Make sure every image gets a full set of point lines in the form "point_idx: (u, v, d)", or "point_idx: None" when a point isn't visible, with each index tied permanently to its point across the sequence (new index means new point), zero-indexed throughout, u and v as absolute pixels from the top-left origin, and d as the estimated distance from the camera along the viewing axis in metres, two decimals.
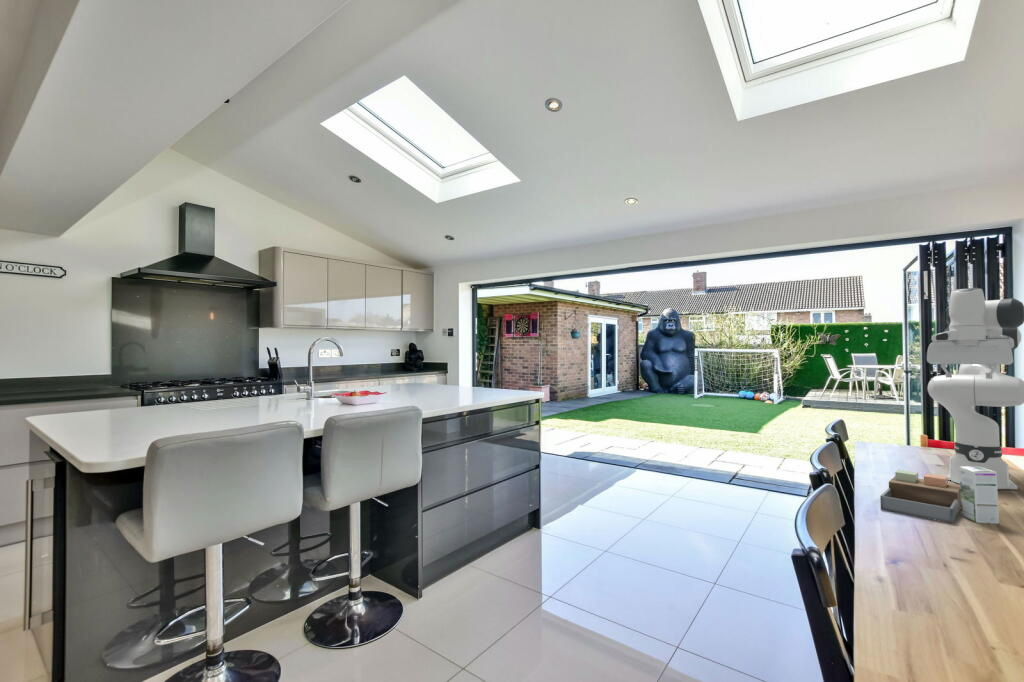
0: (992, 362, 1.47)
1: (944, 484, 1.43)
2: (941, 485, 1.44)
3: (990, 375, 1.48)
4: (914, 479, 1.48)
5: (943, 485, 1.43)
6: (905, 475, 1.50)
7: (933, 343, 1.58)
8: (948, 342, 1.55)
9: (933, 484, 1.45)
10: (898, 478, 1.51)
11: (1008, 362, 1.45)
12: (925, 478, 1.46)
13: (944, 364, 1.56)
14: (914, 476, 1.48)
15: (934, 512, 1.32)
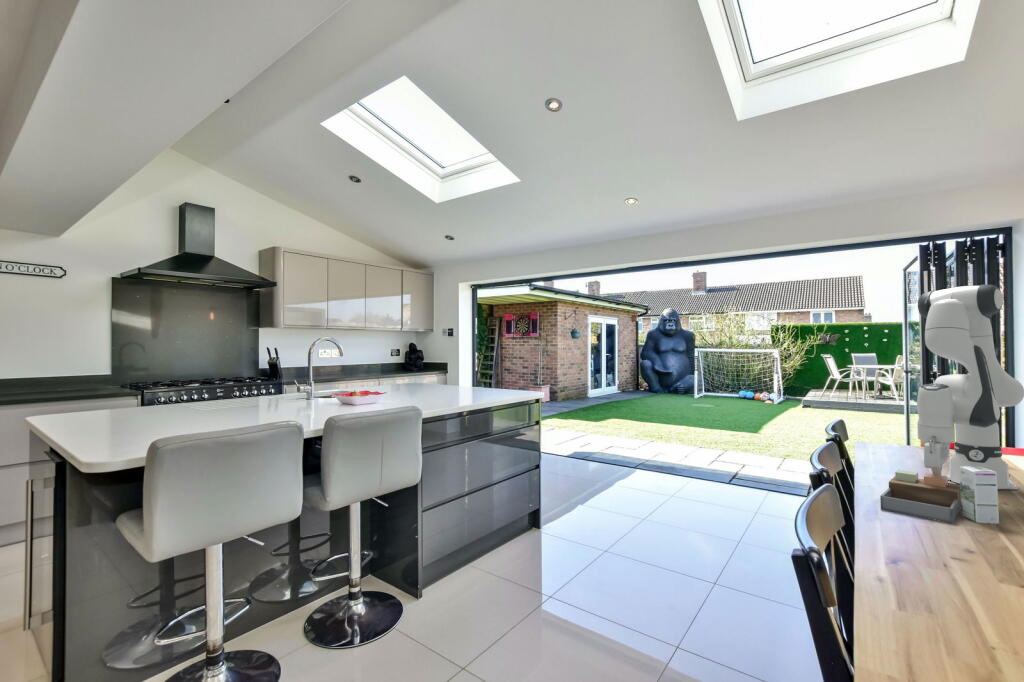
0: None
1: (944, 484, 1.43)
2: (941, 485, 1.44)
3: None
4: (914, 479, 1.48)
5: (943, 485, 1.43)
6: (905, 475, 1.50)
7: None
8: None
9: (933, 484, 1.45)
10: (898, 478, 1.51)
11: None
12: (925, 478, 1.46)
13: None
14: (914, 476, 1.48)
15: (934, 512, 1.32)
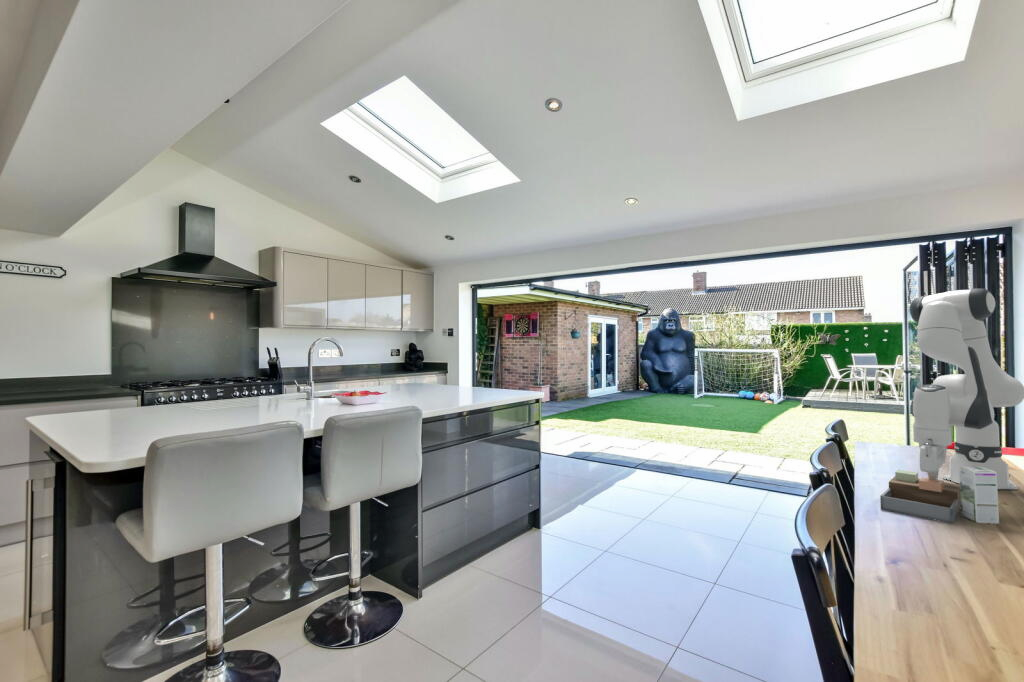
0: None
1: (940, 489, 1.38)
2: (937, 490, 1.39)
3: None
4: (914, 479, 1.48)
5: (939, 490, 1.38)
6: (905, 475, 1.50)
7: None
8: None
9: (928, 488, 1.40)
10: (898, 478, 1.51)
11: (920, 469, 1.40)
12: (920, 482, 1.42)
13: None
14: (914, 476, 1.48)
15: (934, 512, 1.32)
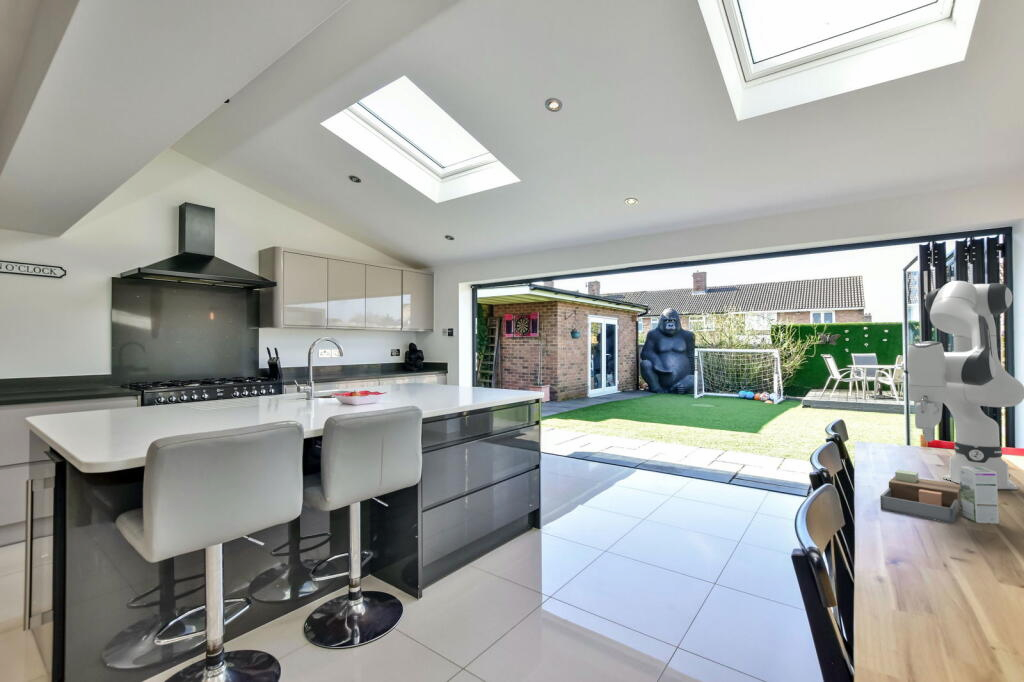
0: None
1: None
2: None
3: None
4: (914, 479, 1.48)
5: None
6: (905, 475, 1.50)
7: None
8: None
9: None
10: (898, 478, 1.51)
11: (916, 426, 1.36)
12: None
13: None
14: (914, 476, 1.48)
15: (934, 512, 1.32)
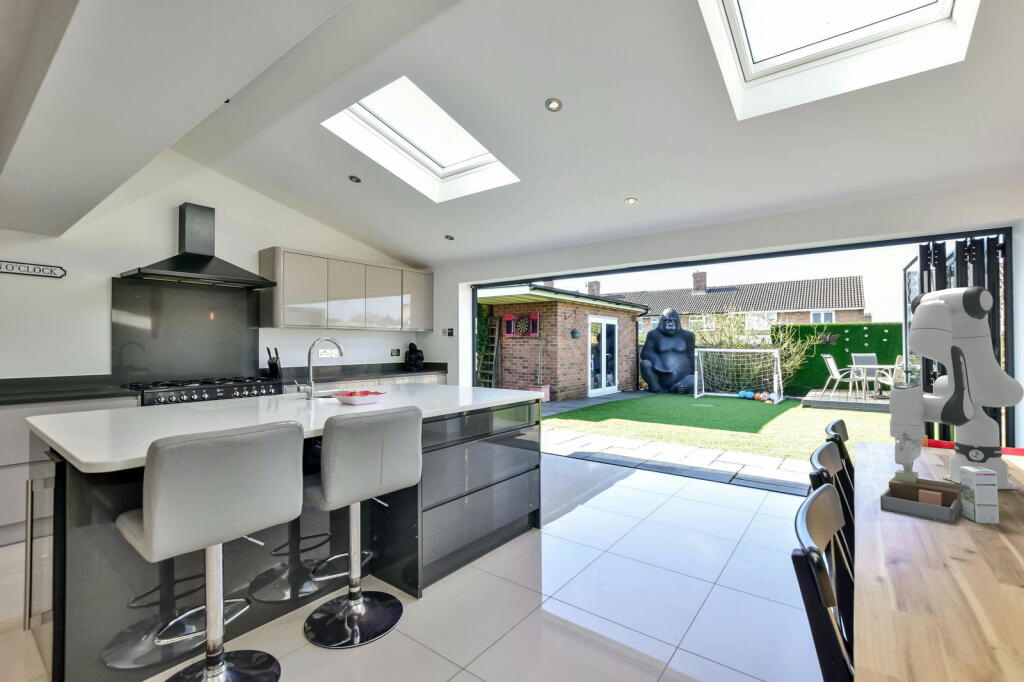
0: None
1: None
2: None
3: None
4: (914, 479, 1.48)
5: None
6: (904, 475, 1.50)
7: None
8: None
9: None
10: (898, 478, 1.51)
11: (895, 462, 1.50)
12: None
13: None
14: (914, 476, 1.48)
15: (934, 512, 1.32)
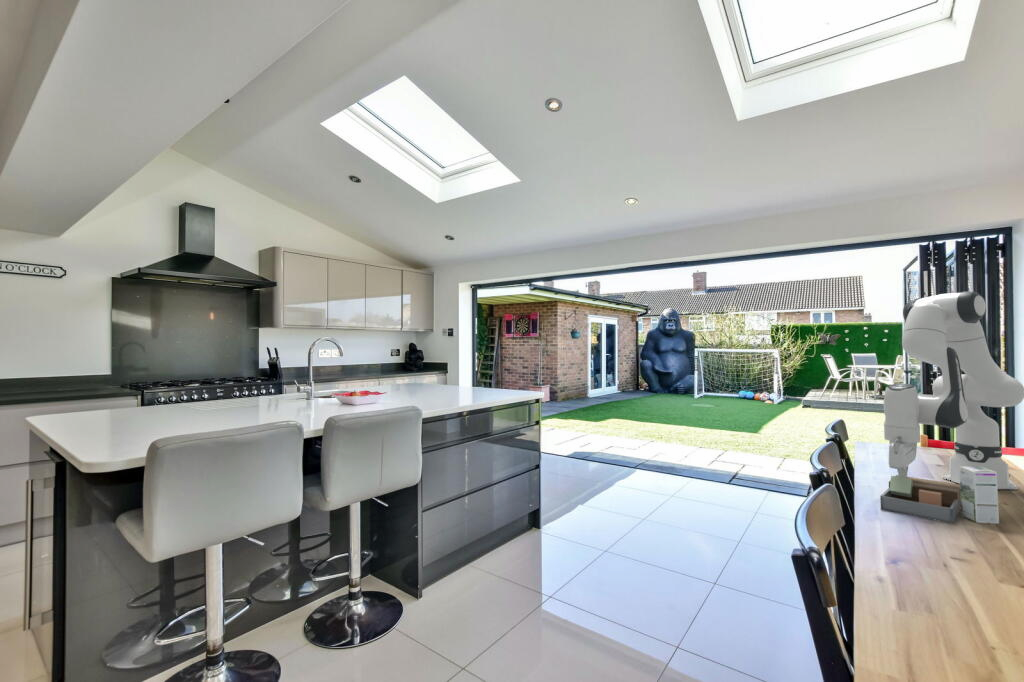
0: None
1: None
2: None
3: None
4: (909, 495, 1.43)
5: None
6: (899, 492, 1.44)
7: None
8: None
9: None
10: (893, 493, 1.46)
11: (889, 466, 1.44)
12: None
13: None
14: (909, 494, 1.43)
15: (934, 512, 1.32)
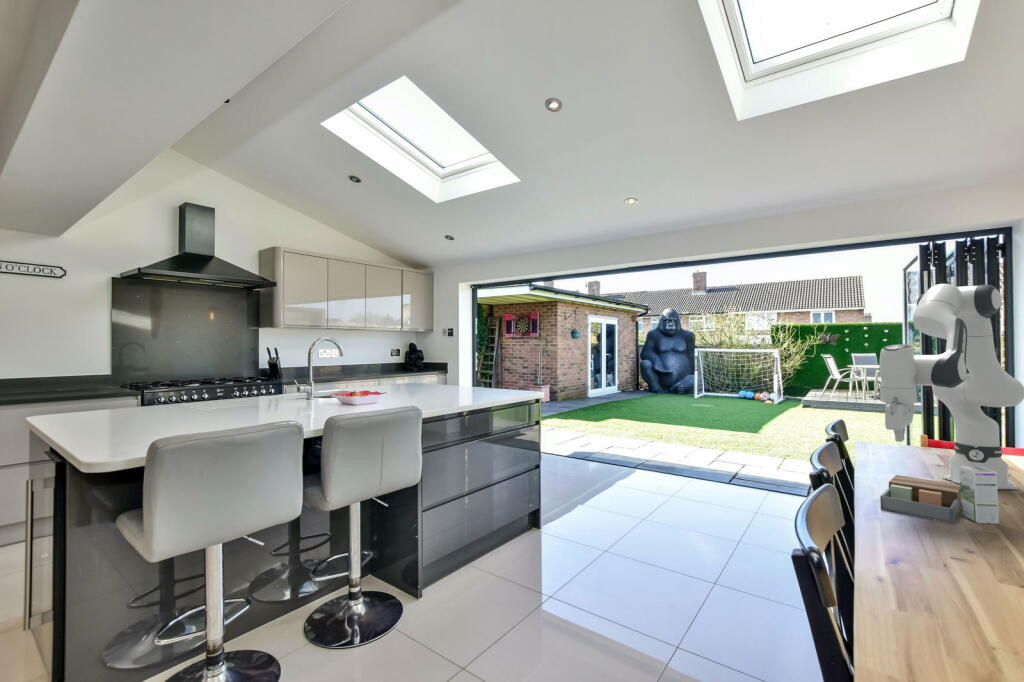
0: None
1: None
2: None
3: None
4: None
5: None
6: None
7: None
8: None
9: None
10: None
11: (886, 427, 1.41)
12: None
13: None
14: None
15: (934, 512, 1.32)
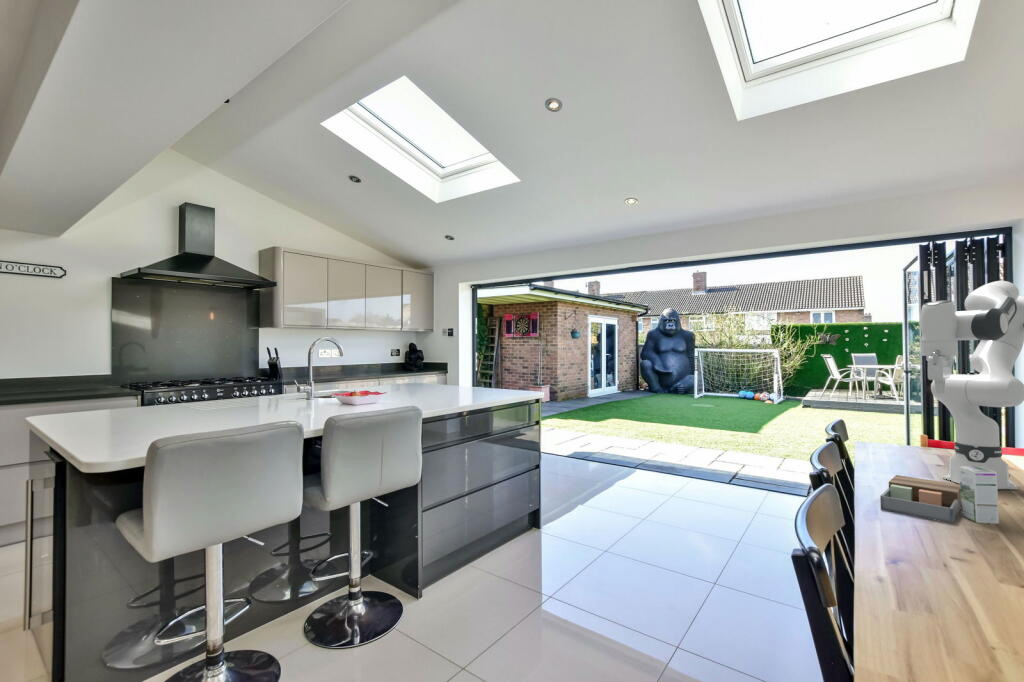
0: None
1: None
2: None
3: None
4: None
5: None
6: None
7: None
8: None
9: None
10: None
11: (928, 378, 1.46)
12: None
13: None
14: None
15: (934, 512, 1.32)
